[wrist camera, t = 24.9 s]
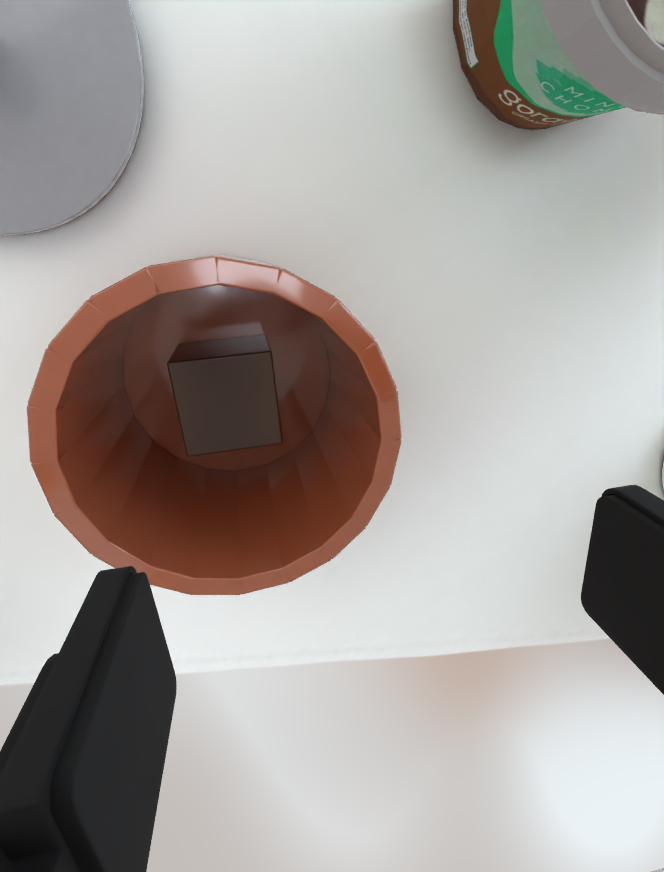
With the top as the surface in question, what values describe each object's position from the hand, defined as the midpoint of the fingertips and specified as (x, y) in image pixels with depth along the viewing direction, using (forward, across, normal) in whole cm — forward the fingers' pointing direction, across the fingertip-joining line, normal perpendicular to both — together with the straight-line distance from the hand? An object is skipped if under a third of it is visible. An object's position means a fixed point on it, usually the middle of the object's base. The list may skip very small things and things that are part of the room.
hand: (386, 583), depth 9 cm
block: (+17, +4, 0) cm, 17 cm away
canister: (+17, +4, 0) cm, 18 cm away
